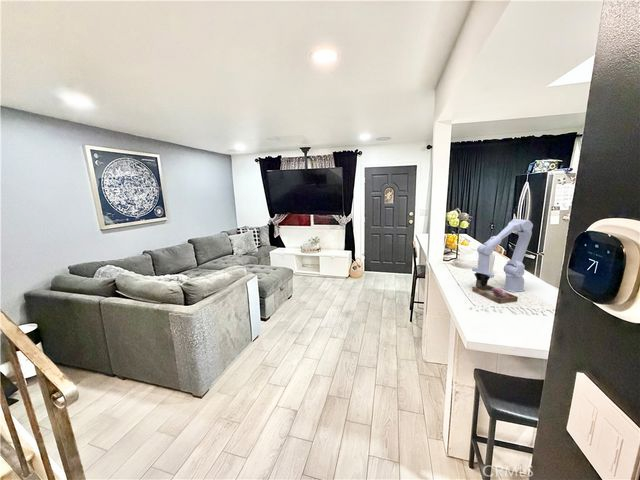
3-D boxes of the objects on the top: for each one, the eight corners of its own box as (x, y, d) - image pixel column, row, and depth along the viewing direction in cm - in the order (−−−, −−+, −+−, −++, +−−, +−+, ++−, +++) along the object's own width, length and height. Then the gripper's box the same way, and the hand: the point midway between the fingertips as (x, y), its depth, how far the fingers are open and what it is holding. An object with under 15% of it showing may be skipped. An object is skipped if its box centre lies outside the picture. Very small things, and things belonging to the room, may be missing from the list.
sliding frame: (471, 290, 160) (472, 280, 159) (487, 288, 162) (488, 278, 161) (499, 303, 141) (500, 292, 140) (517, 301, 143) (518, 290, 142)
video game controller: (492, 297, 153) (488, 287, 152) (498, 293, 153) (495, 284, 152) (505, 304, 143) (501, 294, 142) (512, 300, 143) (508, 290, 142)
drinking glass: (491, 272, 194) (493, 253, 191) (494, 275, 187) (496, 255, 185) (481, 272, 196) (483, 253, 193) (483, 274, 190) (485, 255, 187)
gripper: (468, 261, 163) (467, 282, 166) (487, 267, 149) (485, 290, 152) (478, 260, 165) (476, 281, 167) (497, 267, 151) (495, 288, 153)
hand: (481, 285), depth 159 cm, fingers closed on sliding frame, 2 cm apart
